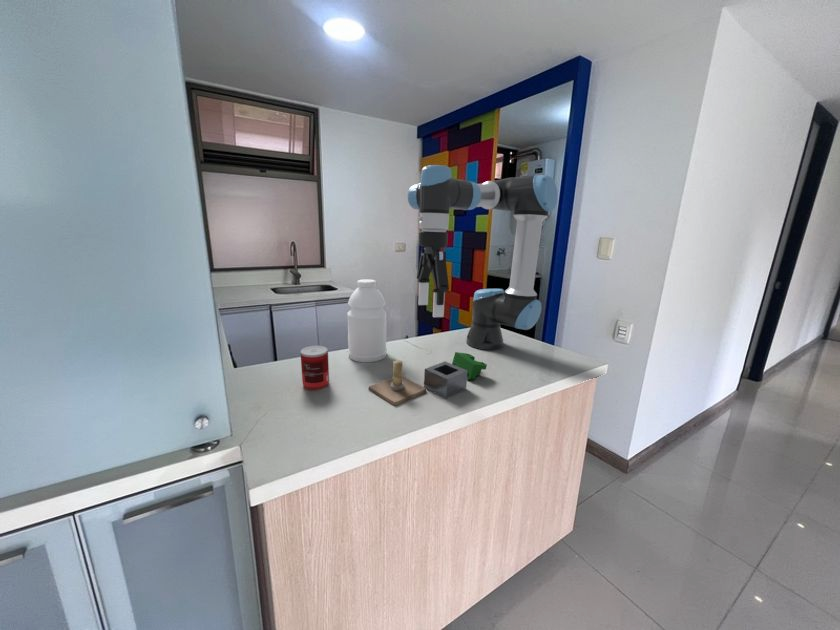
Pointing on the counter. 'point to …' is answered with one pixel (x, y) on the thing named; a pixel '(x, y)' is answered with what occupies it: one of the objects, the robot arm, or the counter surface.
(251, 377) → the counter surface
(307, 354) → the canned food
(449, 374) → the ring
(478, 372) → the clamp
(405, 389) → the post
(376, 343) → the bottle
